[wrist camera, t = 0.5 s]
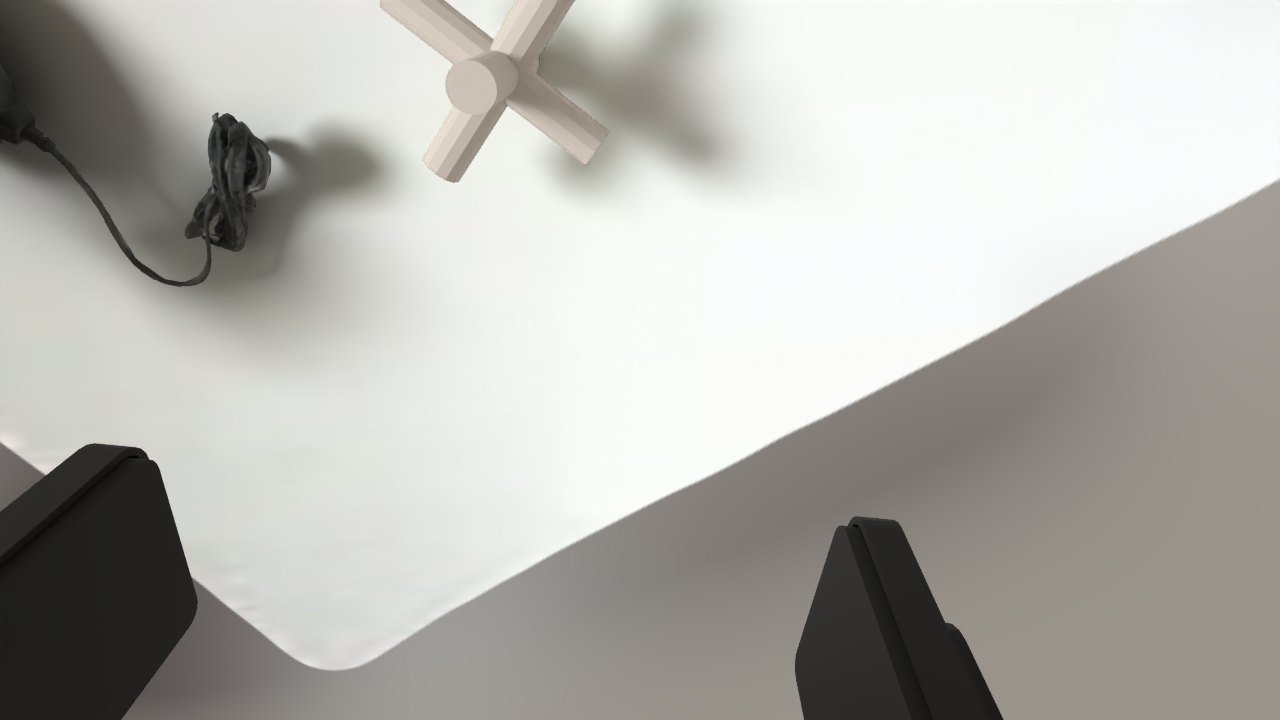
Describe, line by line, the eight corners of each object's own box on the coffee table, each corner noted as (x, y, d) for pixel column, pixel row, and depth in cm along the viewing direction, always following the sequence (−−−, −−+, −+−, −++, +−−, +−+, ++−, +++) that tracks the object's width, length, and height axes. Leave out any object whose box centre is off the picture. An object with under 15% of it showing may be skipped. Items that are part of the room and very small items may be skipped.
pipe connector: (666, 40, 32) (670, 61, 23) (548, 204, 36) (514, 274, 27) (486, -116, 29) (413, -159, 21) (379, 80, 33) (281, 114, 24)
